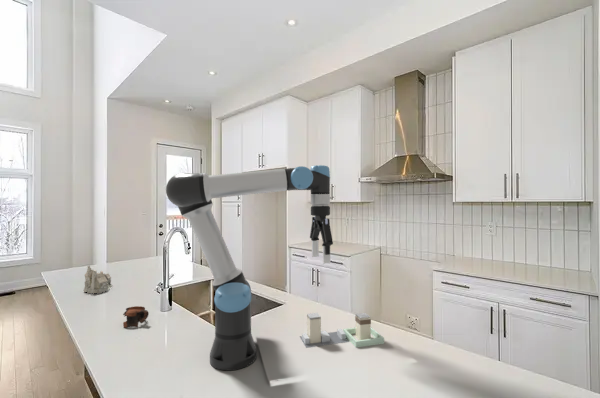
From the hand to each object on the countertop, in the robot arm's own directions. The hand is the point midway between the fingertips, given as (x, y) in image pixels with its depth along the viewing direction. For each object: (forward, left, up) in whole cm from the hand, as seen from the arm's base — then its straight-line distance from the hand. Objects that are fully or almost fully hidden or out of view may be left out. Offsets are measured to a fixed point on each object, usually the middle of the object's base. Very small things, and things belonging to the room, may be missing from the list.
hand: (320, 259), depth 121 cm
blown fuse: (+13, -11, -28) cm, 33 cm away
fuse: (-5, -8, -28) cm, 29 cm away
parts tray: (+13, -11, -29) cm, 33 cm away
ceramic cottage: (-105, +91, -29) cm, 142 cm away
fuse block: (-1, -8, -29) cm, 30 cm away
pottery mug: (-72, +30, -29) cm, 84 cm away
